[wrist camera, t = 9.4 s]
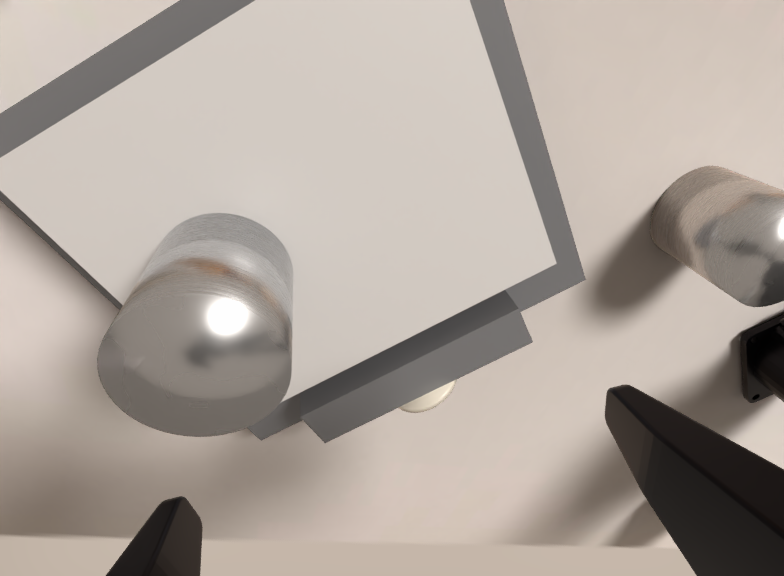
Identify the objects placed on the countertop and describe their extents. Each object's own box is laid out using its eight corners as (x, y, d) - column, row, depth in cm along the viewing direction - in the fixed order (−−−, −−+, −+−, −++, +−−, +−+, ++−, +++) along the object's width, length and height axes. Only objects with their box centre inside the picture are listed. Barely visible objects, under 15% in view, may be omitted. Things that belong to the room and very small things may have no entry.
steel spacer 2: (739, 226, 23) (837, 275, 19) (656, 266, 23) (733, 323, 19) (735, 148, 21) (847, 184, 16) (643, 195, 21) (728, 242, 17)
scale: (566, 265, 22) (621, 319, 18) (268, 414, 24) (261, 492, 20) (434, -150, 14) (486, -213, 10) (-16, 133, 15) (-123, 175, 12)
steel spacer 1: (317, 292, 16) (323, 389, 12) (212, 347, 17) (183, 459, 12) (243, 187, 14) (219, 262, 10) (123, 254, 14) (51, 353, 10)
